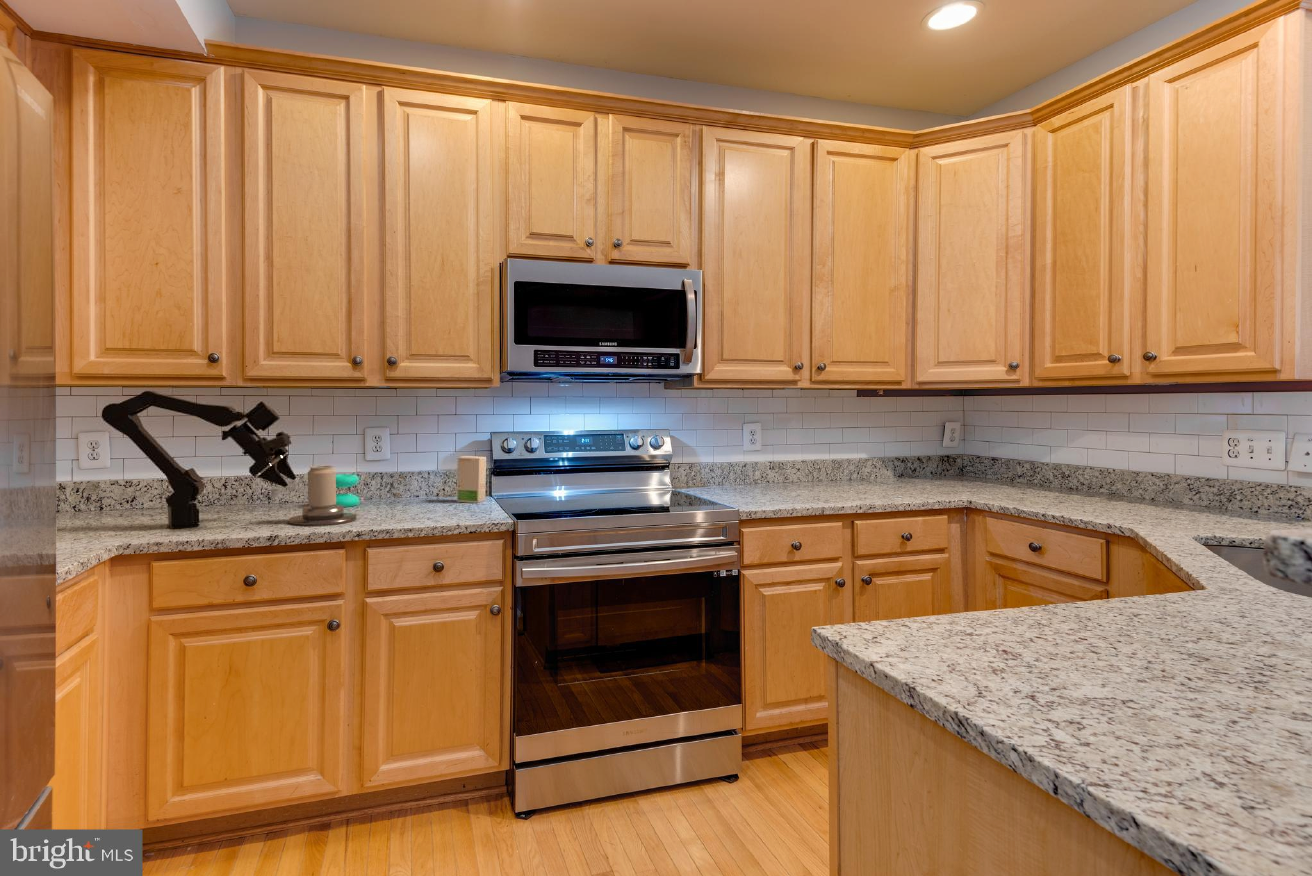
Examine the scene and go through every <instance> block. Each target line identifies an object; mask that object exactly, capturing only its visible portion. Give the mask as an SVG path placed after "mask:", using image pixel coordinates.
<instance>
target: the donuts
mask: <svg viewBox="0 0 1312 876" xmlns="http://www.w3.org/2000/svg"><path fill="white" fill-rule="evenodd" d="M359 482H360V478H359V476H358V475H355V474H351V473H350V474H349V473H348V474H347V473H345V474H344V473H343V474H336V488H350V487H353V486H356V485H357V484H358V483H359ZM336 504H338V505H343V507H344V508H347V507H348V508H350V507H355V506H357V505H358V504H360V498H359V497H358V496H357V495H355V494H352V493H340V494H339V493H338V494H337V493H336Z"/></svg>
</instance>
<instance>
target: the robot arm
mask: <svg viewBox="0 0 1312 876" xmlns="http://www.w3.org/2000/svg"><path fill="white" fill-rule="evenodd" d="M151 407H154V408H159V409H163V410H166V411H167V410H168V411H172V412H175V413H180V414H184V415H187V416H188V415H189V416H193V417H196V418H199V419H201V420H203V421H205V422H208V423H210V424H212V425H214V426H217V427H221V428H222V427H230V426H232V425H233V426H232V427H230V428H229V429H227V430H226V429H225V430H222V431H221V440H222V441H226V440H228V439H229V438H230V439H232V441H233V442H234V443H235V444H237V445H238V447H240V449H242V450H243V452H242V454H243V455H244V456H246V455H247V456H249V458H250V459H251V460H252V461H253V464H252V465H250V466H249V467H248V468H249V469H248V472H249V475H252V477H256V478H259V479H262V480H264V481H266V482H267V481H268V482H270V483H273V484H275V485H278V486H281V487H283V488H286V487H288V485H289V483H288V482H287V481H286V479H285V478H284V477H286V478H288V479H290V480H292V481H294V480H296V479H297V477H296V474H295V473H294V471H293V469H292V467H291V465H290V464H289V461H288V459H289V455H290V454H289V453H288V452H289V450H288V449H287V448H286V447H289V446H290V445H292V444H293V443H292V441H291V436H290V435H289V434H288V433H286V432H284V431H280V432H277V433H275V437H273V438H271V439H270V438H269V439H268V438H267V437H265V436H263V437H261V436H260V435H259V433H257V432H259V431H260V430H261V431H263V432H265V431H266V430H267V429H269V428H270V427H271V426H272V425H274V424H276V423H277V422H278V421H279V420H280V419H281V417H280V415H279V414H278V413H277V412H276V410H274V409H273V408H272V407H270V406H269V405H267V404H266V403H265V402H264V401H260V402H259V403H257V404H256V405H255V407H252V409H251V410H249V411H248V412H245V411H243V412H242V411H239V410H237V409H235V408H234V407H233V406H230V405H221V404H209V403H201V402H196V401H191V400H188V399H185V398H179V397H176V396H172V395H167V394H163V393H159V392H157V391H155V390H146V391H143V392H141V393H140V394H138V395H135V396H133V397H129V399H126V400H123V401H122V402H115V403H109V404H106V405H105V406H104V407H103V408H102V411H101V418H102V420H103V422H105V423H106V424H107V425H109V426H111V427H112V428H113V429H114V430H116V431H117V432H120V433H121V434H123V435H125V436H126V437H128V438H129V439H130V441H132V443H133V444H135V445H136V447H138V449H140V451H141V452H142V453H143V454H144V455H145V456H146V457H147V458H148V459H149V460H150V461H151V462H152V463H153V465H155V466H156V467H157V469H159V470H160V471H161V473H163V475H165V477H166V480H167V482H168V483H169V486H170V488H171V489H172V491H173V492H172V493H171V494H170V495H169V496H168V497H167V498H166V499H165V502H166V504H167V517H168V518H167V519H168V520H167V521H168V523H166V524H165V525H166V527H167V528H170V529H171V530H174V529H183V528H184V529H185V528H192V527H193V528H194V527H199V526H200V508H199V507H197V506H198V505H197V503H196V502H197V499H198V497H199V496H201V495H202V494H203V492H204V491H205V483H204V481H203V480H204V477H202V476H201V475H199V474H198V473H197V472H196V470H195V469H194V468H193V467H191V468H188V469H186V468H184V467H182V466H181V465H180V464H179V463H178V462H177V461H176V460H175V459H174V457H172V456H171V455H170V453H169V452H168V451H167V450H166V449H165V448H164V447H163V446H162V445H161V444H160V443H159V442H158V441H157V439H155V438H154V436H152V434H150V433H149V431H148V430H147V429H146V428H145V427H144V425H143V423H142V421H141V418H140V416H139V414H140V413H143V412H144V411H146V410H147V409H149V408H151ZM241 421H244V422H243V423H241V424H240V425H238V424H235V423H236V422H241ZM256 431H257V432H256ZM283 476H284V477H283Z"/></svg>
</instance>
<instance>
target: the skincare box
mask: <svg viewBox="0 0 1312 876" xmlns="http://www.w3.org/2000/svg"><path fill="white" fill-rule="evenodd" d="M456 467H457V468H456V469H457V470H456V471H457V475H456V502H457V503H468V504H469V503H471V504H479V503H482V501H483V502H485V501H486V484H487V483H486V482H487V481H486V480H487V477H486V476H487V457H486V456H476V455H475V456H474V455H473V456H472V455H462V456H457V466H456Z"/></svg>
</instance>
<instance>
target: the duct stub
mask: <svg viewBox="0 0 1312 876" xmlns="http://www.w3.org/2000/svg"><path fill="white" fill-rule="evenodd" d="M344 508H345V507H343V505H338V504H335V505H334V506H333V507H331V508H323V509H315V508H311V507H310V506H309V505H307V506H303V507H302V508H301V510H302V511H301V512H302V513H301V514H299V515H295V516H291V517H289V519H288V524H289V525H292V526H296V527H298V526H299V527H322V526H323V527H326V526H337V525H343V524H348V523H352V522H355V521H356V520H357V514H355V513H351V512H345V511H344V510H345V509H344Z"/></svg>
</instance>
